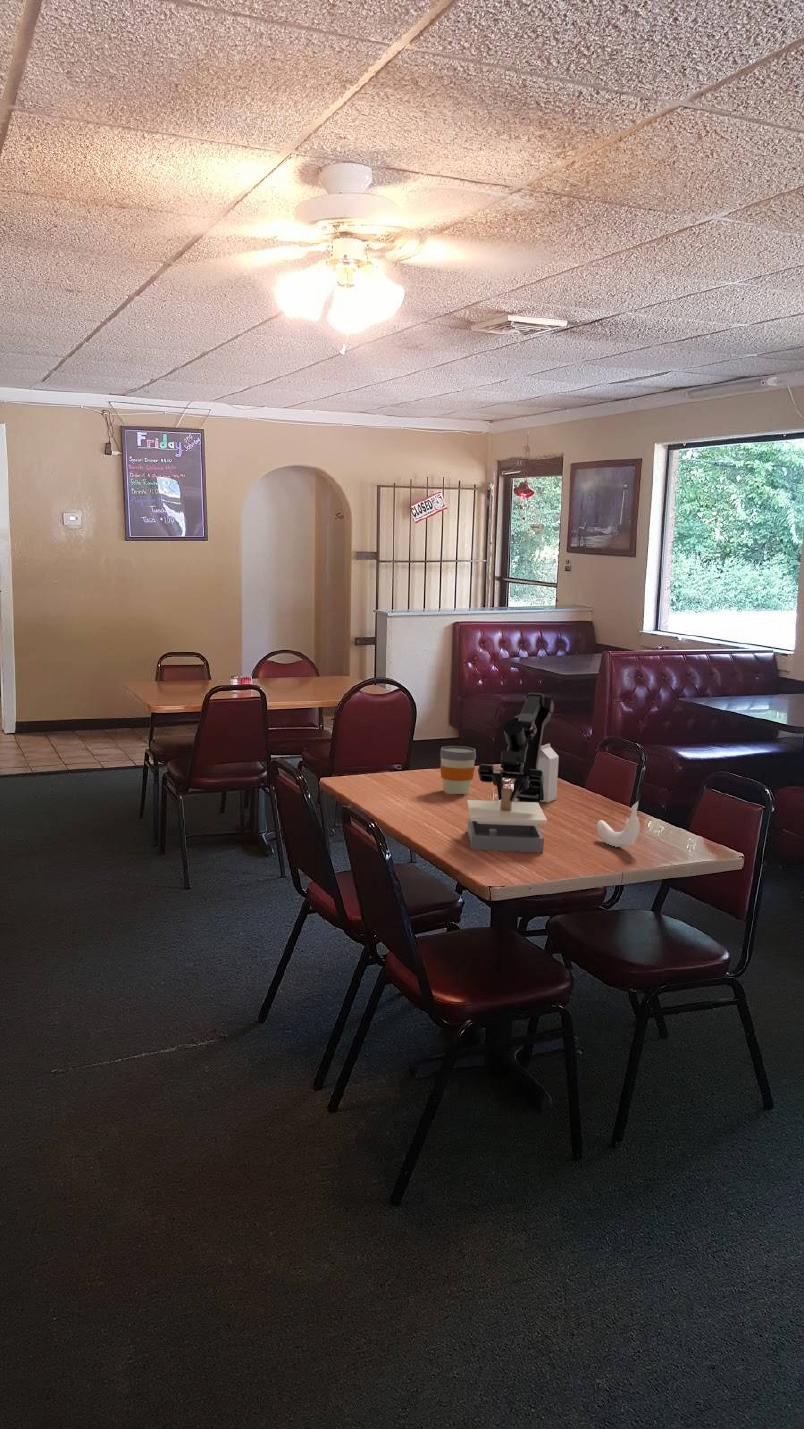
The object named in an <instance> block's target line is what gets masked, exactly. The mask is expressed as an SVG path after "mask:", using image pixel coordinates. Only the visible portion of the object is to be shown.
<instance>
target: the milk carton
mask: <svg viewBox="0 0 804 1429" xmlns="http://www.w3.org/2000/svg"><path fill="white" fill-rule="evenodd" d="M559 756H560V755H558V754H557V752H555V750H554V748H552V747H551V743H546V744H544V745H541V750H540V756H539V763H538V770H542V772H543V776H544V785H543V789H544V800H541V801H540V802H542V803H546V804H547V803H550V802H553V801H555V800H557V792H558V791H557V790H558V774H559V759H560V758H559ZM537 796H538V795H537Z"/></svg>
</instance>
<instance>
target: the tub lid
mask: <svg viewBox="0 0 804 1429" xmlns="http://www.w3.org/2000/svg"><path fill="white" fill-rule="evenodd" d="M513 789H514V788H509V787H503V788H502V789H501V800H481V799H480V800H478V799H467V800H466V801H467V802H466V803H467V804H466V805H467V809H468V812H469V818H471V821H477V824H499V825H525V826H538V827H539V826H540V825H541V824H542V825H544V824H545V825H547V824H548V819H547V817H546V815H545V814H544V811H543V810H542V807H541V806H540V804H539V803H536V802H517V801H513V802H511V795H512V792H513Z"/></svg>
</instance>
